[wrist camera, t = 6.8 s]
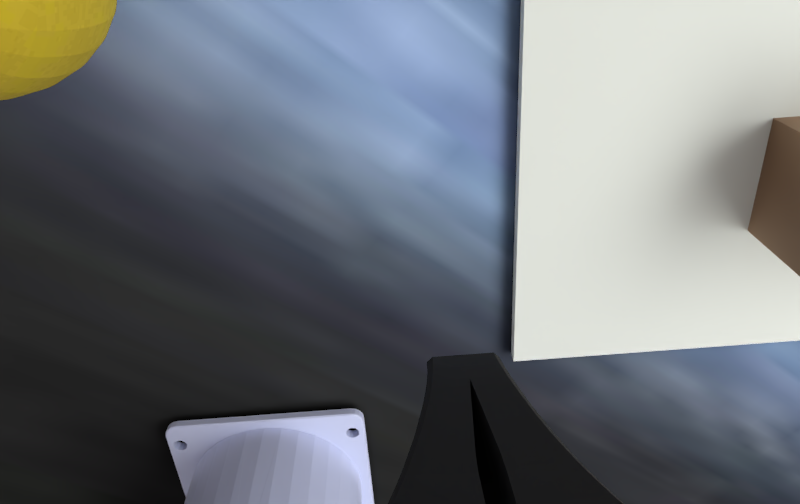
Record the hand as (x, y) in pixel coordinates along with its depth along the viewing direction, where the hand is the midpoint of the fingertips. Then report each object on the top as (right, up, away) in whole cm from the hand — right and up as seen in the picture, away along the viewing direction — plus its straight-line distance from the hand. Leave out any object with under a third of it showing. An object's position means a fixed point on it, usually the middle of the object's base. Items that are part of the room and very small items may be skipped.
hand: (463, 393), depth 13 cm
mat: (+12, +6, +9) cm, 16 cm away
